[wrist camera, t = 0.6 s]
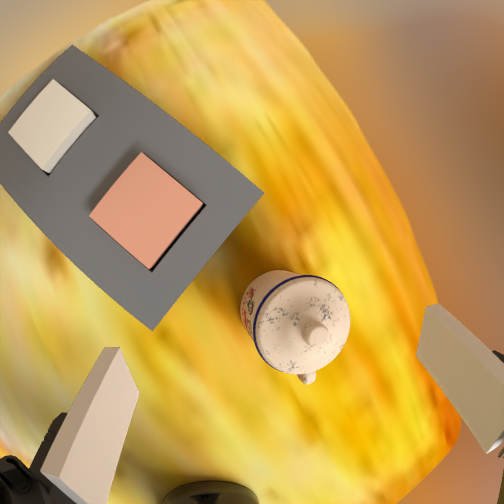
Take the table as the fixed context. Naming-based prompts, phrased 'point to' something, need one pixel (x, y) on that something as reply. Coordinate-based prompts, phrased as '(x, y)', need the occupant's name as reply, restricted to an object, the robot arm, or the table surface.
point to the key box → (107, 173)
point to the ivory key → (51, 125)
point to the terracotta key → (145, 210)
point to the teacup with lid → (295, 321)
